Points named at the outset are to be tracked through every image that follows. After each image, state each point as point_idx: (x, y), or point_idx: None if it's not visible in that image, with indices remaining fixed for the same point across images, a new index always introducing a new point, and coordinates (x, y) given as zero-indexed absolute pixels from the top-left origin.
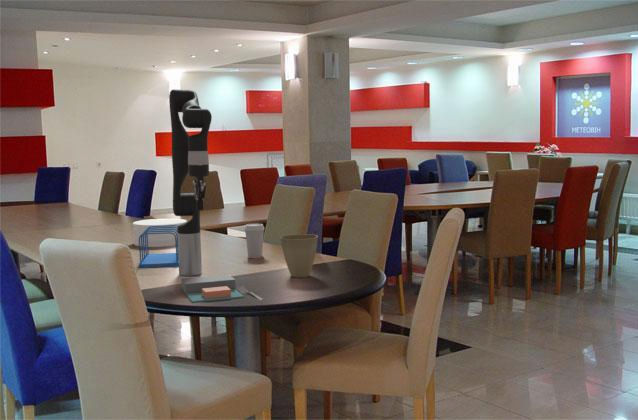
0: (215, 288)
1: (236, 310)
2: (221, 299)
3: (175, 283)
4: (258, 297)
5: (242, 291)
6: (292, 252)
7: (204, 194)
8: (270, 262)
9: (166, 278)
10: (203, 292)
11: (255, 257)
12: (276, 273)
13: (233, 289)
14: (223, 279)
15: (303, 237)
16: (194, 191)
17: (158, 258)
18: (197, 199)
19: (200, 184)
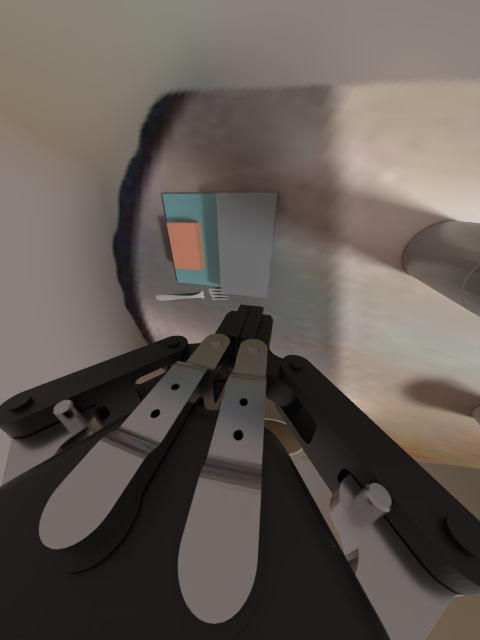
0: (188, 247)
1: (113, 249)
2: None
3: (349, 190)
4: (170, 297)
5: (212, 292)
6: None
7: (139, 390)
8: (404, 402)
9: (436, 174)
10: (183, 222)
11: (477, 408)
12: None
13: None
14: (228, 276)
15: (294, 446)
16: (234, 387)
17: None
18: (207, 338)
19: (6, 463)
